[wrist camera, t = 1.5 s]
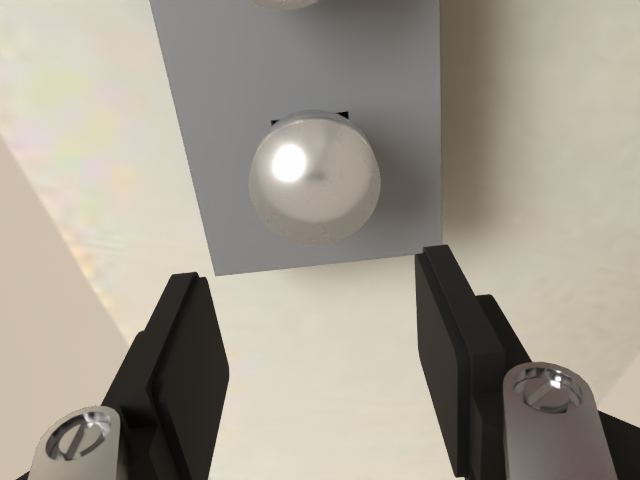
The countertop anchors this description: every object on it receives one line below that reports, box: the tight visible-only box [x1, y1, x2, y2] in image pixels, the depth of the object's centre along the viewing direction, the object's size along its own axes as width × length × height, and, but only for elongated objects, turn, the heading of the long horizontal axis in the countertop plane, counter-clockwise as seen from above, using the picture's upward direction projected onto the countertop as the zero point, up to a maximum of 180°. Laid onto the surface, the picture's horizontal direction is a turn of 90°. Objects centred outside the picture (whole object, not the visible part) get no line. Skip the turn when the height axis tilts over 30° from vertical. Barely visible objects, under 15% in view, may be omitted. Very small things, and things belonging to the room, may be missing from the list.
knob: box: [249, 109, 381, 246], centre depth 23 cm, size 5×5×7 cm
